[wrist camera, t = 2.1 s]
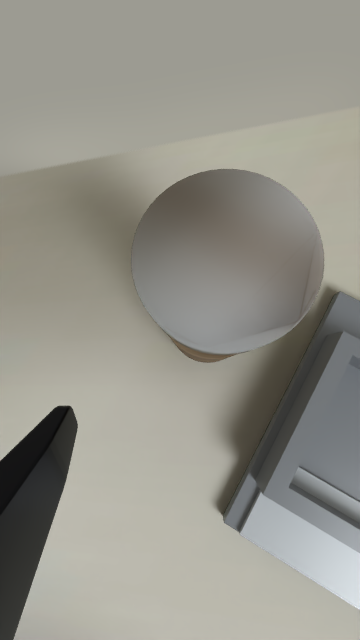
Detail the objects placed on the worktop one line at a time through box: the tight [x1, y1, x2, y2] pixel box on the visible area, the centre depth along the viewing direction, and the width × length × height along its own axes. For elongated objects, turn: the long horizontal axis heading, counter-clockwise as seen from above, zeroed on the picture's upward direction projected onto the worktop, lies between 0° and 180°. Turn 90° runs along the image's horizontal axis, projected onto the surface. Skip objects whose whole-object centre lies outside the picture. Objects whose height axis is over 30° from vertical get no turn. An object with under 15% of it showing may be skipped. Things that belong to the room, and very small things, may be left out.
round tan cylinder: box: [131, 169, 324, 362], centre depth 15 cm, size 5×5×13 cm
